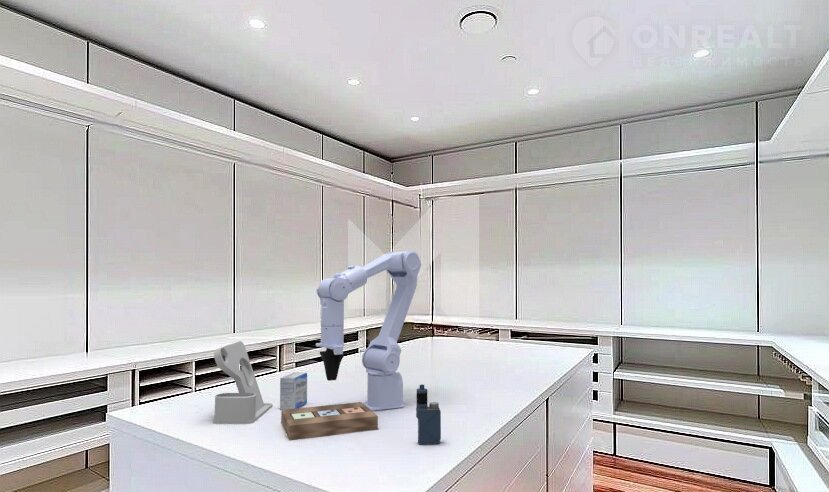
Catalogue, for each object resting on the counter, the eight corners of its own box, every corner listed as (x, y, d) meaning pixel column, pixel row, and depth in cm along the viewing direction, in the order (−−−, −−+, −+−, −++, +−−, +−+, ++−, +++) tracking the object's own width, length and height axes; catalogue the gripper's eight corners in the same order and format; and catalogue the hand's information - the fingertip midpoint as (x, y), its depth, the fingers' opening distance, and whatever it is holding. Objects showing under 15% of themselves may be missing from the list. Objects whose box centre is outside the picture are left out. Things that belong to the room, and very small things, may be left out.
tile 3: (335, 417, 115) (335, 408, 115) (340, 423, 110) (340, 413, 111) (316, 419, 113) (316, 410, 113) (320, 425, 109) (320, 415, 109)
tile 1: (310, 420, 112) (311, 411, 112) (314, 425, 108) (314, 416, 108) (291, 422, 111) (291, 413, 111) (294, 428, 106) (294, 418, 106)
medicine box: (294, 411, 125) (295, 377, 125) (279, 410, 126) (279, 377, 126) (307, 403, 132) (307, 372, 133) (292, 402, 133) (293, 371, 134)
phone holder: (251, 424, 113) (253, 348, 114) (209, 424, 113) (212, 348, 114) (273, 405, 130) (275, 339, 132) (237, 405, 130) (239, 339, 132)
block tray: (360, 413, 122) (360, 401, 122) (377, 429, 109) (377, 415, 109) (281, 422, 114) (281, 409, 114) (289, 440, 101) (289, 425, 101)
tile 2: (359, 415, 117) (359, 406, 117) (364, 420, 113) (364, 410, 113) (341, 417, 115) (341, 408, 115) (346, 422, 111) (346, 412, 111)
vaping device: (415, 441, 101) (415, 383, 102) (440, 440, 101) (439, 383, 102) (416, 445, 98) (416, 386, 99) (441, 444, 99) (441, 386, 100)
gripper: (311, 323, 125) (310, 375, 124) (322, 328, 111) (321, 387, 110) (337, 322, 128) (336, 373, 126) (351, 327, 114) (350, 384, 113)
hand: (331, 379), depth 119 cm, fingers closed
